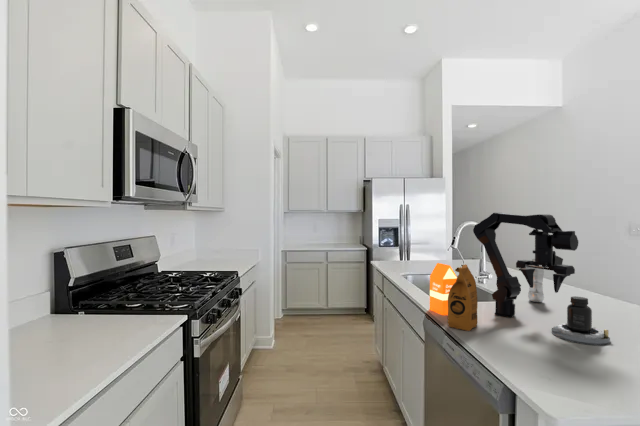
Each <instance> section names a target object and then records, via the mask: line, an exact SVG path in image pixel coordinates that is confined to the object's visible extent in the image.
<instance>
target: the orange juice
mask: <svg viewBox="0 0 640 426" xmlns="http://www.w3.org/2000/svg"><path fill="white" fill-rule="evenodd" d="M454 271H455V270H453V267H451V265H450V264H449V265H448V264H445V263H440V262H437V263H436V265H435V266H434V268H433V269H432V271H431V273H430V275H429V311H431V312H434V313H436V314H437V315H438V314H439V315H441V316H448V295H449V291H450V289H451V287H452V286H453V284H454V283H455V282H456V279H457V277H458V275H456V273H455V272H454Z"/></svg>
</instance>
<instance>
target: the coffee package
mask: <svg viewBox="0 0 640 426" xmlns="http://www.w3.org/2000/svg"><path fill="white" fill-rule="evenodd" d="M454 271H455V272H457V273H458V275H457V279H456V282H455V283H454V284H453V286H452V287H451V289H450V291H449V295H448V315H447V325H448V326H449V328H453V329H456V330H463V331H467V332H470V331H472V330H473V328H477V326H478V291H477V283H476V279H475V277H474V275H473V274H472V271H471V269H470V268H469V267H468V264H463V265H462V266H461V267H458V266H457V267H456V268H455V270H454Z"/></svg>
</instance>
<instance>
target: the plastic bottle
mask: <svg viewBox="0 0 640 426" xmlns="http://www.w3.org/2000/svg"><path fill="white" fill-rule="evenodd" d="M531 261H535V258H531ZM539 266H542V265H539ZM533 269H535V271H534V273H533V288H530V286H529V285H528V292H527V298H528V300H529V301H530V302H533V303H543V301H544V300H545V296H544V289H543V288H544V287H543V286H544V285H543V282H544V276H545V275H544V274H545V269H538V268H533Z"/></svg>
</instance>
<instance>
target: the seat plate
mask: <svg viewBox="0 0 640 426" xmlns="http://www.w3.org/2000/svg"><path fill="white" fill-rule="evenodd" d="M551 334H552V335H553V336H555V337H557V338H558V339H562V340H564V341H568V342H571V343H576V344H582V345H589V346H605V345H609V344H610V343H611V337H609V329H603V331H602V330H600V329H598V328H596V327H593V326H592V334H583V333H577V332H572V331H569V330H567V322H566V323H565V322H563V323H559V324H558V325H556V326H553V327H551Z"/></svg>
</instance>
